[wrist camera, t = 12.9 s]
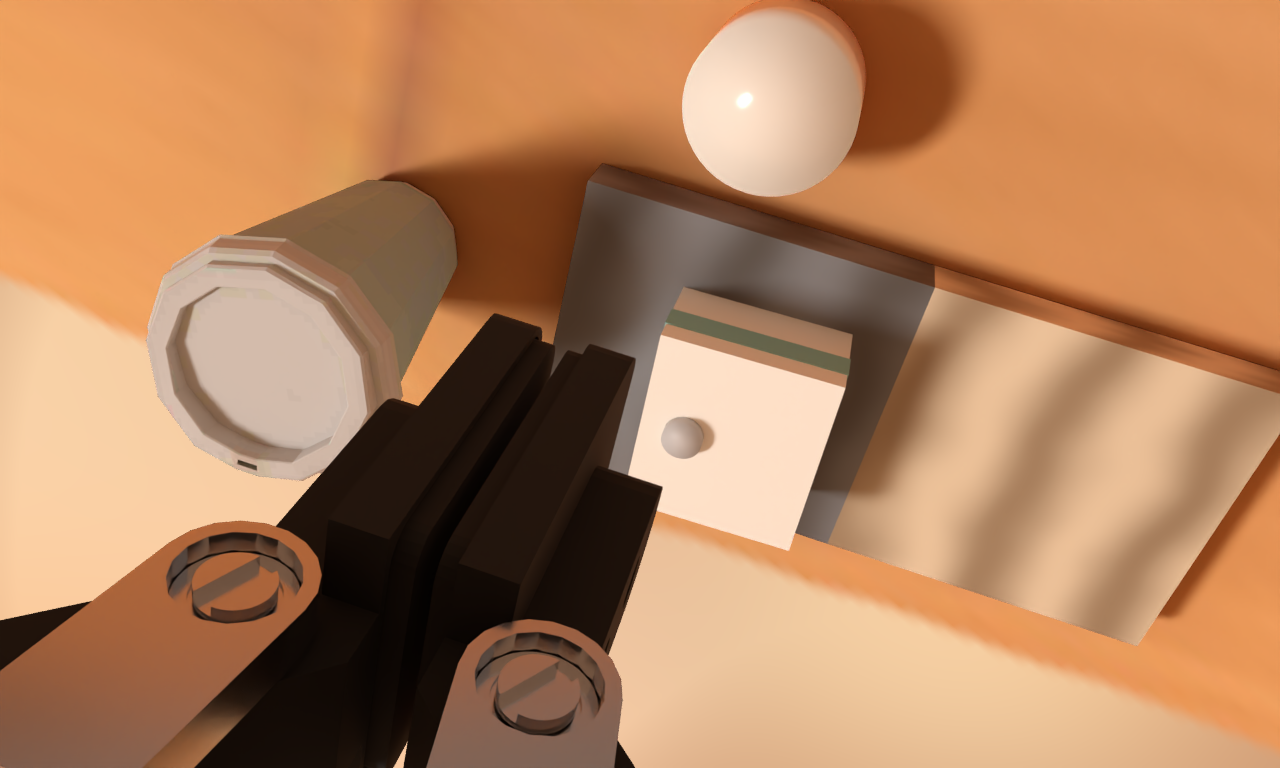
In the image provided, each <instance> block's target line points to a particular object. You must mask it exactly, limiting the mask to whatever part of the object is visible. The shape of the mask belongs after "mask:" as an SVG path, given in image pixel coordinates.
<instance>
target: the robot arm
mask: <svg viewBox="0 0 1280 768" xmlns="http://www.w3.org/2000/svg"><path fill="white" fill-rule="evenodd" d="M541 340H542V329H541V328H540V327H537V326H534V325H531V324H528V323H525V322H522V321H518V320H515V319H512V318H509V317H506V316H503V315H500V314H493V315H492V316H491V317H490V318H489V319H488V321H487V322H486V323H485V324H484V326H483V327H482V328H481V329H480V331H479V332H478V333H477V334H476V336H475V337H474V338H473V339H472V341H471V342H470V343H469V344H468V346H467V347H466V348H465V349H464V351H463V352H462V353H461V354H460V355H459V357H458V358H457V359H456V360H455V362H454V363H453V364H452V365H451V367H450V368H449V369H448V370H447V372H446V373H445V374H444V375H443V377H442V378H441V379H440V380H439V382H438V383H437V384H436V385H435V387H434V388H433V389H432V390H431V392H430V393H429V394H428V395H427V396H426V398H425V399H424V400H423V401H422V403H421V404H420V405H419V406H416V405H413V404H410V403H407V402H404V401H401V400H398V399H395V398H391V399H387V400H386V401H385V402H384V403H383V404H382V405H381V406H380V407H379V408H378V409H377V410H376V411H375V412H374V414H373V415H372V416H371V417H370V418H369V419H368V421H367V422H366V423H365V424H364V425H363V426H362V427H361V429H360V430H359V431H358V432H357V433H356V434H355V436H354V437H353V438H352V439H351V440H350V441H349V442H348V444H347V445H346V446H345V447H344V448H343V449H342V451H341V452H340V453H339V454H338V455H337V456H336V457H335V459H334V460H333V461H332V462H331V463H330V464H329V466H328V467H327V468H326V469H325V470H324V471H323V472H322V474H321V475H320V476H319V477H318V478H317V479H316V481H315V482H314V483H313V484H312V485H311V486H310V487H309V489H308V490H307V491H306V492H305V493H304V494H303V496H302V497H301V498H300V499H299V500H298V501H297V502H296V504H295V505H294V506H293V507H292V508H291V509H290V511H289V512H288V513H287V514H286V515H285V516H284V518H283V519H282V520H281V521H280V522H279V523H278V524H277V526H276V527H275V526H272V525H269V524H265V523H257V522H248V521H232V522H222V523H214V524H211V525H207V526H204V527H200V528H197V529H194V530H190V531H189V532H187V533H185V534H183V535H182V536H180V537H178V538H176V539H175V540H173V541H171V542H169V543H168V544H167V545H165V546H164V547H163V548H161V549H160V550H159V551H158V552H156V553H155V554H154V555H152V556H151V557H150V558H148V559H147V560H146V561H144V562H143V563H142V564H140V565H139V566H138V567H136V568H135V569H134V570H133V571H131V572H130V573H129V574H127V575H126V576H125V577H123V578H122V579H121V580H119V581H118V582H117V583H116V584H114V585H113V586H111V587H110V588H109V589H107V590H106V591H105V592H103V593H102V594H101V595H100V596H98V597H97V598H96V599H94V600H93V601H90V602H85V603H81V604H76V605H71V606H66V607H61V608H57V609H52V610H47V611H42V612H38V613H33V614H29V615H24V616H19V617H14V618H10V619H5V620H0V768H393V767H394V765H395V764H396V762H397V760H398V758H399V756H400V754H401V752H402V751H403V749H404V747H405V745H406V743H407V741H408V743H407V749H406V755H405V761H404V768H635V767H634V765H633V764H632V762H631V760H630V759H629V757H628V756H627V754H626V753H625V751H624V749H623V748H622V746H621V745H620V743H619V742H618V731H619V724H620V716H621V707H622V685H621V678H620V676H619V674H618V672H617V669H616V668H615V665H614V663H613V661H612V659H611V658H610V657H609V656H608V655H609V652H610V649H611V646H612V644H613V641H614V638H615V635H616V633H617V629H618V627H619V624H620V622H621V619H622V616H623V613H624V611H625V608H626V605H627V602H628V599H629V596H630V593H631V590H632V587H633V584H634V581H635V578H636V575H637V572H638V569H639V566H640V563H641V560H642V557H643V554H644V550H645V547H646V544H647V541H648V538H649V534H650V531H651V528H652V524H653V521H654V518H655V514H656V511H657V508H658V504H659V501H660V497H661V493H662V490H663V487H662V486H659V485H656V484H653V483H650V482H647V481H644V480H641V479H638V478H635V477H632V476H629V475H626V474H623V473H620V472H617V471H614V470H611V469H608V468H609V464H610V460H611V457H612V453H613V449H614V445H615V441H616V438H617V434H618V430H619V426H620V422H621V418H622V415H623V411H624V407H625V403H626V399H627V396H628V392H629V388H630V384H631V380H632V376H633V372H634V368H635V363H636V358H634V357H631V356H628V355H625V354H622V353H618V352H615V351H612V350H609V349H606V348H603V347H600V346H597V345H593V344H589V345H588V346H587V348H586V349H585V351H584V353H583V354H580V353H577V352H574V351H571V350H567V352H566V353H565V354H564V356H563V358H562V359H561V361H560V362H559V364H558V366H557V367H556V369H555V370H554V372H553V374H552V375H551V371H552V366H553V361H554V356H555V345H552V344H549V343H546V342H543V341H541ZM550 375H551V377H550Z"/></svg>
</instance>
